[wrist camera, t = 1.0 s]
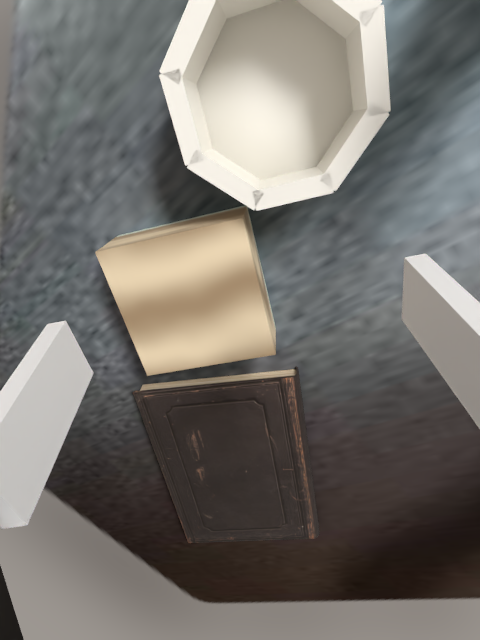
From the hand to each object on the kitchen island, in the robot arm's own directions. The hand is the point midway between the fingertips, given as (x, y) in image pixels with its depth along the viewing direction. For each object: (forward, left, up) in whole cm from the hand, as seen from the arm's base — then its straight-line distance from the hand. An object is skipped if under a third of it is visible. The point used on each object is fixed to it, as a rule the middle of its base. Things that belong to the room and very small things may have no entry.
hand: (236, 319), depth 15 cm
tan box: (-4, +6, -17) cm, 18 cm away
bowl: (+8, -3, -17) cm, 19 cm away
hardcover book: (-25, +8, -18) cm, 32 cm away
